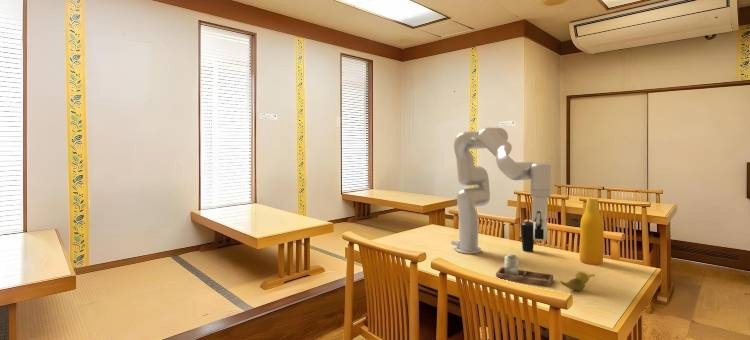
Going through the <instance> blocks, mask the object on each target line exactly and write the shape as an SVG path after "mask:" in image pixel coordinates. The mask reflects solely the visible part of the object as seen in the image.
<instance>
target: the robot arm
mask: <svg viewBox="0 0 750 340" xmlns="http://www.w3.org/2000/svg"><path fill="white" fill-rule="evenodd" d="M508 139H509V135H508V132H507V130H505V128H503V127H493V126H492V127H490V126H489V127H484V128H482V129H480V130H479V131H463V132H460V133H459V134H457V135H456V137H455V139H454V140H453V151H454V154H455V159H456V169H457V170H456V171H457V178H458V183H459V185H461V186H465V187H468V188H463V189H461V190H459V191H458V193H456V203H457V208H458V240H451V242H450V243H451V245H452V246H455V251H456V252H458V253H460V254H466V255H467V254H468V255H470V254H471V255H473V254H475V255H476V254H479V253H482V248H481V247H480V246H479V214H478V211H477V210H476V208H477V207H483V206H487V204H488V203H489V202H490V200H491V192H490V181H489V173H488V171H487V170H486V169H485V167H483V166H479V165H476V166H475V159H474V155H473V153H472V152H471V151H470V150H473V149H474V150H475V149H477V150H478V149H487V150H488V151H489V152H490V153H491V154H492V155H493V156H494V157H495V160H496V161H495V162H496V165H497V168H498V169H499V170H500V171H501V173H503V174H504V175H505V177H507V178H508V179H509V180H512V181H525V180H526V181H527V180H530V197H531V198H532V202H531V203H532V204H531V206H532V207H531V208H532V209H531V222H534V221H535V219H536V222H535V239H543V238H544V229H543V222H545V220H547V217H548V199H550V198H551V196H552V195H551V193H552V192H551V191H552V189H551V186H552V182H551V181H552V166H551V164H550V163H547V162H534V161H520V162H519V161H518V162H517V161H514V159H512V158H511V157H510V156H509V155H510V154H511V152H512V149H513V147H512V144H511V143H510V142H509V141H508ZM469 186H470V188H469ZM471 186H473V187H471ZM540 220H542V222H541V221H540ZM540 223H541V224H540Z"/></svg>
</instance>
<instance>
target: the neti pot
mask: <svg viewBox="0 0 750 340" xmlns="http://www.w3.org/2000/svg"><path fill="white" fill-rule="evenodd" d="M595 276H596V275H595V274H590V275H589V274H587V273H585V272H582V271H578V272H577V273H576V274H575V278H574V277H573V278H571V279H570V280H568V281H566V282H565V281H562V280H559V283H560V284H561V285H562V286H565V287H566V288H568V289H570V290H572V291H583V290H584V289H585V287H586V284H587V283H588V282H589V280H590V279H591V278H592V277H595Z"/></svg>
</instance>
